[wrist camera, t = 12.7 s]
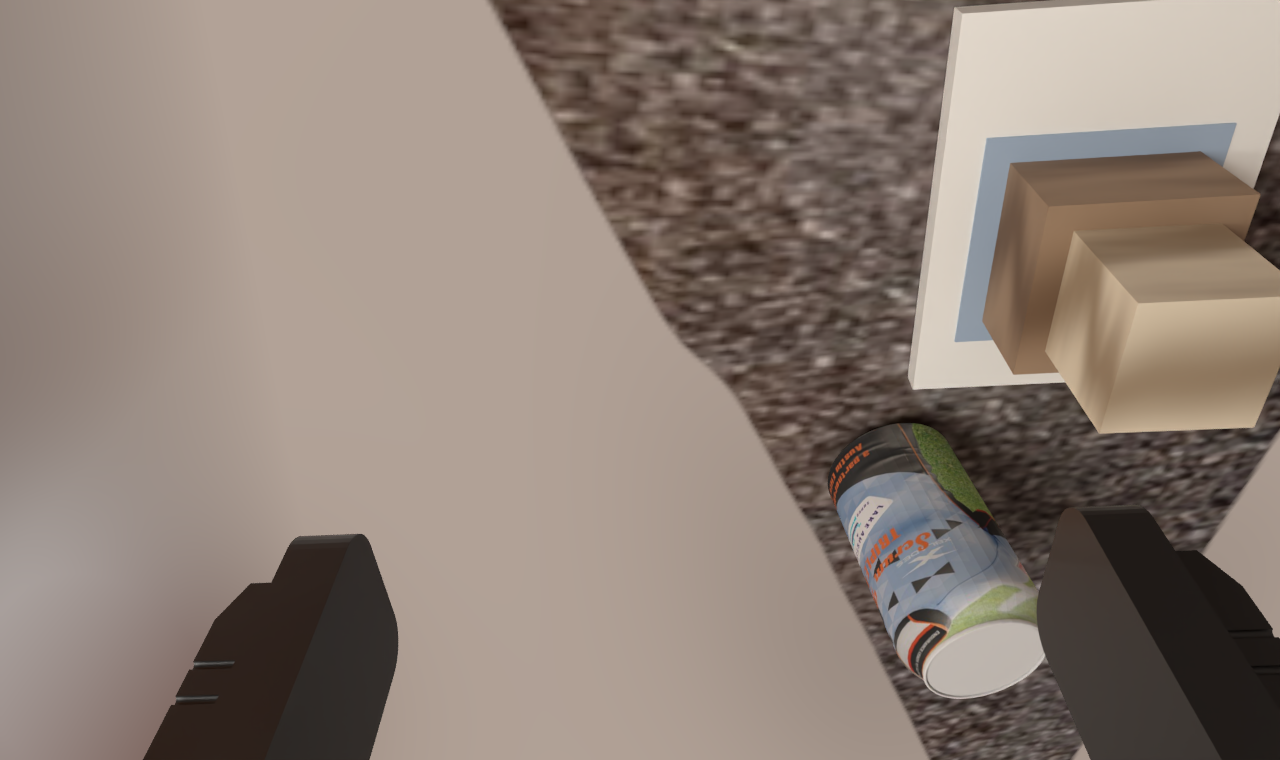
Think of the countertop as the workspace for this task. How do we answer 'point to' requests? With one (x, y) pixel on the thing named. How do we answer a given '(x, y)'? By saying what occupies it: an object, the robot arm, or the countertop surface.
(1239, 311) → the maple cube
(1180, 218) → the walnut block
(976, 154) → the board
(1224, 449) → the countertop surface
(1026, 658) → the beverage can
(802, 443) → the countertop surface
